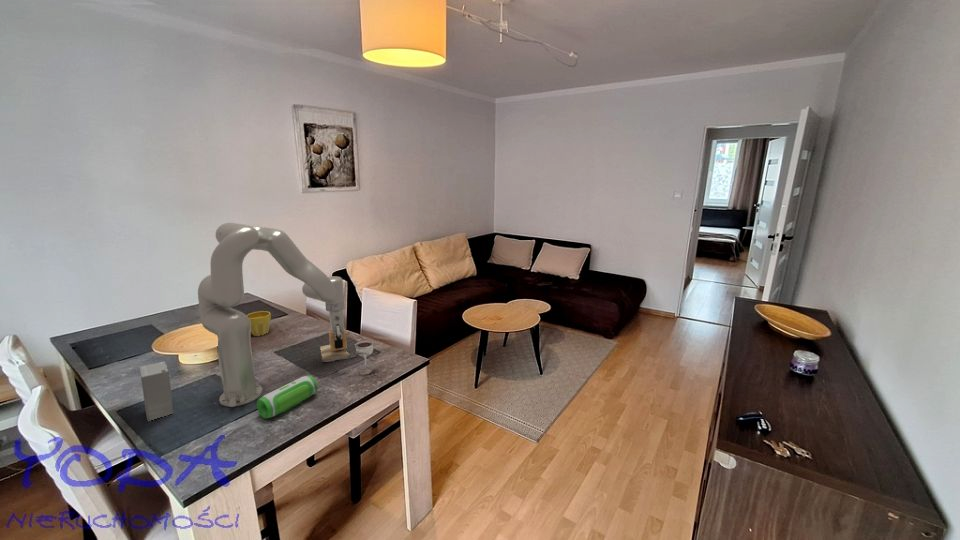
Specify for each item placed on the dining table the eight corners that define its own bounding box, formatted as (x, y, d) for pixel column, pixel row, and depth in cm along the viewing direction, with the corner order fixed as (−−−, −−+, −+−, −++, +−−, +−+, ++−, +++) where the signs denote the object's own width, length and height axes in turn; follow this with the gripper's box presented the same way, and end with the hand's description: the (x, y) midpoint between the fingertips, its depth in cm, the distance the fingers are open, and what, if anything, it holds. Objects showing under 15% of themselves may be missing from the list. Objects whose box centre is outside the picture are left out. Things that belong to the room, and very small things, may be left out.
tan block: (347, 348, 160) (346, 333, 158) (331, 351, 157) (329, 335, 155) (345, 342, 165) (344, 328, 164) (329, 345, 163) (328, 330, 161)
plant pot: (251, 330, 183) (248, 311, 181) (274, 328, 186) (272, 310, 184) (245, 338, 174) (242, 319, 171) (270, 336, 177) (267, 317, 174)
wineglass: (369, 377, 143) (368, 348, 140) (353, 374, 144) (351, 346, 142) (377, 368, 150) (376, 341, 147) (362, 366, 151) (360, 339, 148)
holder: (357, 357, 159) (357, 344, 157) (322, 363, 153) (321, 350, 151) (353, 344, 171) (352, 331, 170) (320, 349, 165) (319, 337, 163)
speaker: (306, 390, 134) (304, 371, 132) (319, 396, 130) (317, 377, 128) (257, 415, 119) (254, 395, 117) (270, 423, 115) (267, 402, 114)
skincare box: (145, 411, 120) (135, 366, 116) (173, 402, 125) (165, 359, 121) (147, 423, 114) (137, 377, 110) (177, 413, 119) (168, 369, 115)
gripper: (347, 311, 151) (350, 351, 155) (342, 298, 166) (344, 335, 170) (327, 313, 147) (330, 354, 152) (324, 300, 162) (327, 338, 167)
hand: (338, 344), depth 161 cm, fingers closed on tan block, 6 cm apart
